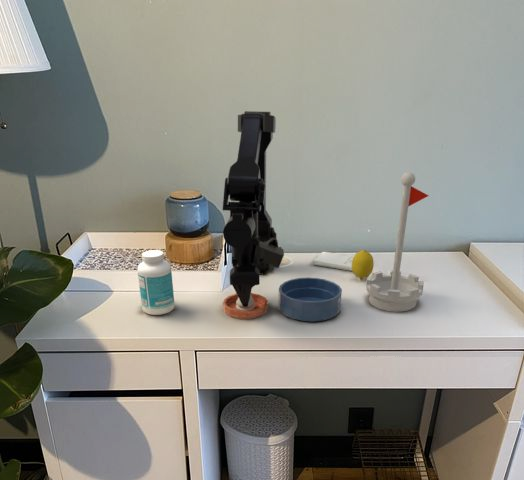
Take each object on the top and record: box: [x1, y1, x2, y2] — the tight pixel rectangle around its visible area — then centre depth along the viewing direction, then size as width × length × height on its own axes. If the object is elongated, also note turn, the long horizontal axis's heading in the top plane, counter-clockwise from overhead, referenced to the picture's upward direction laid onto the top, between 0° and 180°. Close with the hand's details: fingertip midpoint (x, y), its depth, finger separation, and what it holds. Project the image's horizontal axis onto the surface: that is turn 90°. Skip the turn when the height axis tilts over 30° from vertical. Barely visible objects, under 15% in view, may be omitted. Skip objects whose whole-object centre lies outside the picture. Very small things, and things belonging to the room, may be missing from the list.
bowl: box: [277, 277, 343, 322], centre depth 127 cm, size 14×14×5 cm
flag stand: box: [365, 171, 430, 313], centre depth 125 cm, size 13×13×30 cm
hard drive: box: [312, 251, 355, 272], centre depth 154 cm, size 2×8×12 cm
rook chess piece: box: [236, 294, 255, 310], centre depth 126 cm, size 4×4×8 cm
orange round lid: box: [222, 292, 269, 320], centre depth 128 cm, size 10×10×2 cm
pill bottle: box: [136, 249, 175, 316], centre depth 125 cm, size 8×7×14 cm
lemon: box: [351, 249, 375, 281], centre depth 143 cm, size 6×6×8 cm
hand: (245, 299), depth 127 cm, fingers open, 7 cm apart
